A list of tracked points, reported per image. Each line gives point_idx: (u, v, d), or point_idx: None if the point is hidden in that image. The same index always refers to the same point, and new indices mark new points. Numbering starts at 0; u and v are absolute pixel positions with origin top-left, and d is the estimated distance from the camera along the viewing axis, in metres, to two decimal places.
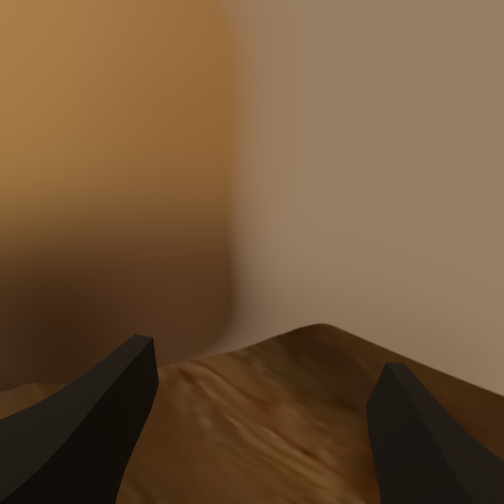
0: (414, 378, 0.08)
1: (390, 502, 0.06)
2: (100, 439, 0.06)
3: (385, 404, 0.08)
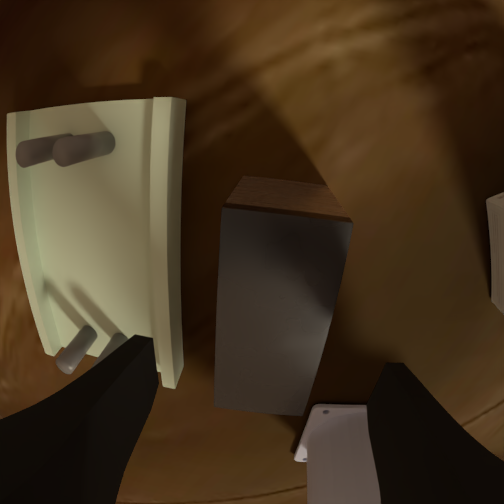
0: (414, 378, 0.08)
1: (390, 502, 0.06)
2: (100, 439, 0.06)
3: (385, 404, 0.08)
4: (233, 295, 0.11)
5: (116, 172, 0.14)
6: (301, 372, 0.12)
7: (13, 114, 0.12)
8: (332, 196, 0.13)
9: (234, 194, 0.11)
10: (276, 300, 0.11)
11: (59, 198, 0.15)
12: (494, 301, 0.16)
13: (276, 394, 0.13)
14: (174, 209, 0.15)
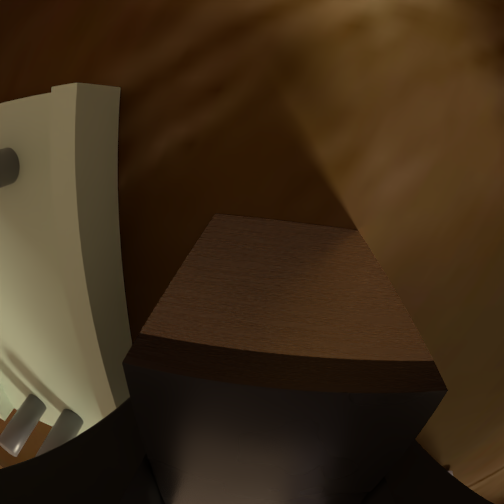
0: None
1: None
2: None
3: None
4: (182, 480, 0.05)
5: (24, 210, 0.08)
6: None
7: None
8: (377, 268, 0.06)
9: (175, 288, 0.05)
10: (264, 492, 0.04)
11: None
12: None
13: None
14: (105, 272, 0.09)
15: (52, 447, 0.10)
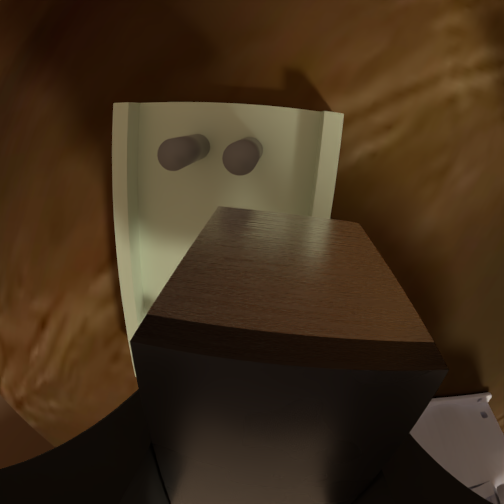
0: None
1: None
2: None
3: None
4: (186, 467, 0.05)
5: (261, 182, 0.15)
6: None
7: (124, 104, 0.12)
8: (378, 257, 0.07)
9: (181, 273, 0.05)
10: (267, 479, 0.05)
11: (180, 207, 0.15)
12: None
13: None
14: None
15: None
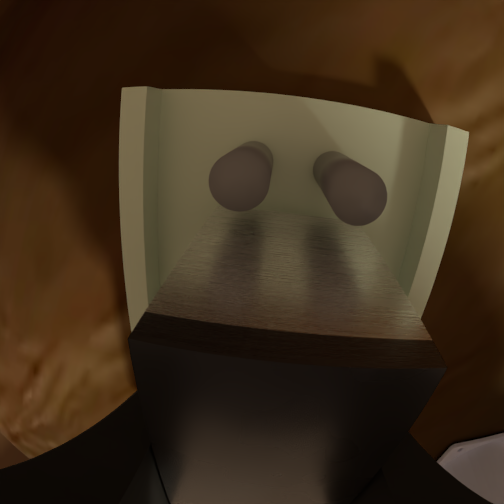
0: None
1: None
2: None
3: None
4: (185, 466, 0.05)
5: None
6: None
7: (139, 90, 0.08)
8: (376, 256, 0.07)
9: (179, 271, 0.05)
10: (266, 477, 0.05)
11: None
12: None
13: None
14: None
15: None
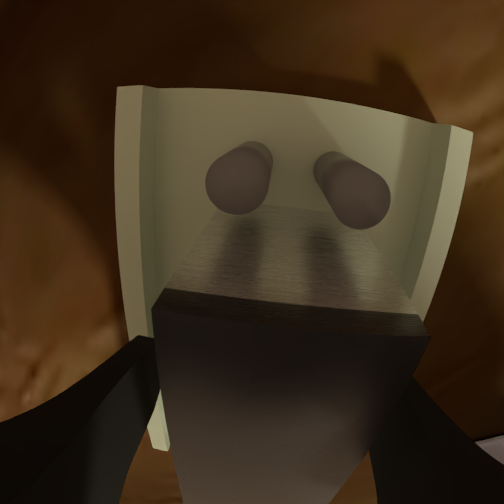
0: (411, 378, 0.08)
1: (387, 502, 0.06)
2: (104, 440, 0.06)
3: None
4: (195, 437, 0.05)
5: None
6: None
7: (135, 89, 0.07)
8: (369, 245, 0.07)
9: (192, 255, 0.06)
10: (270, 447, 0.05)
11: None
12: None
13: None
14: None
15: None
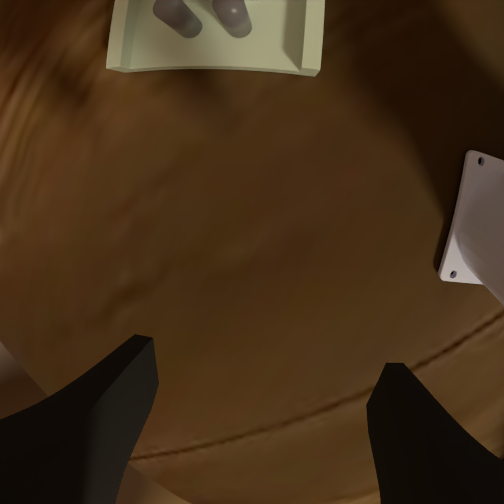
0: (414, 378, 0.08)
1: (390, 502, 0.06)
2: (100, 439, 0.06)
3: (385, 404, 0.08)
4: None
5: None
6: None
7: None
8: None
9: None
10: None
11: None
12: None
13: None
14: None
15: None
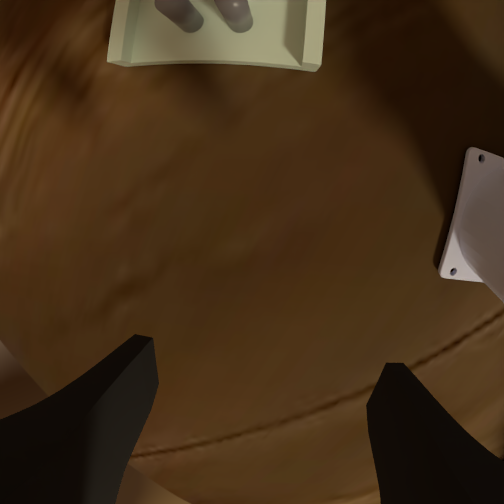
0: (414, 377, 0.08)
1: (390, 502, 0.06)
2: (100, 439, 0.06)
3: (385, 404, 0.08)
4: None
5: None
6: None
7: None
8: None
9: None
10: None
11: None
12: None
13: None
14: None
15: None
